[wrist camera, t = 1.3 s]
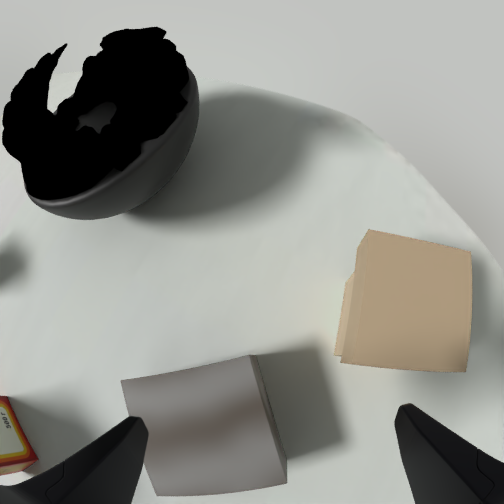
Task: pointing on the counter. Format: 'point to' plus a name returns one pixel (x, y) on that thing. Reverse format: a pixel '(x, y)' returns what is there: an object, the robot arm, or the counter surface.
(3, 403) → the baking soda box
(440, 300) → the box lid
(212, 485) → the block
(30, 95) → the coal bowl
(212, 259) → the counter surface
